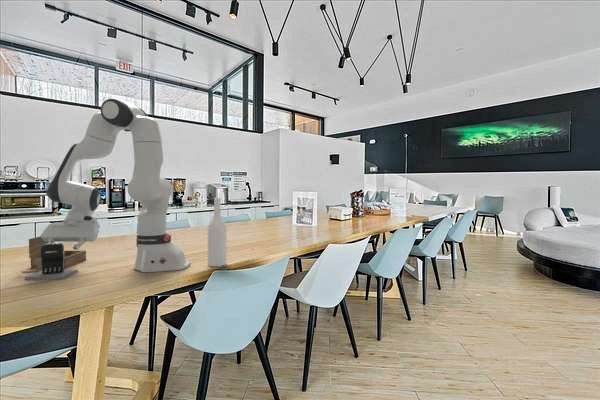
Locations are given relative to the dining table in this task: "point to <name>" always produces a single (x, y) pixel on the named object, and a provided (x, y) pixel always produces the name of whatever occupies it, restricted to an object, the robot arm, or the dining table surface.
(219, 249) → the bottle
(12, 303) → the dining table surface
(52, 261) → the battery charger
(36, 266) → the wooden box
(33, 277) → the mat
